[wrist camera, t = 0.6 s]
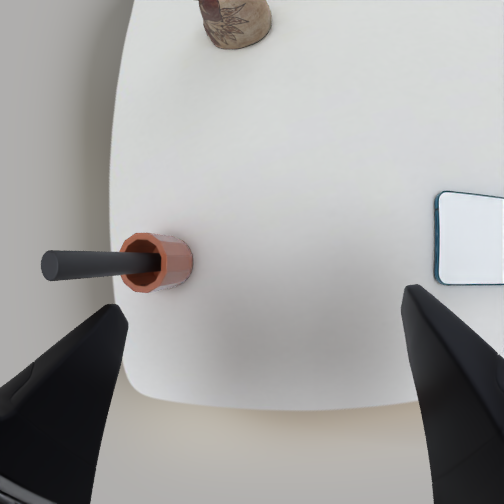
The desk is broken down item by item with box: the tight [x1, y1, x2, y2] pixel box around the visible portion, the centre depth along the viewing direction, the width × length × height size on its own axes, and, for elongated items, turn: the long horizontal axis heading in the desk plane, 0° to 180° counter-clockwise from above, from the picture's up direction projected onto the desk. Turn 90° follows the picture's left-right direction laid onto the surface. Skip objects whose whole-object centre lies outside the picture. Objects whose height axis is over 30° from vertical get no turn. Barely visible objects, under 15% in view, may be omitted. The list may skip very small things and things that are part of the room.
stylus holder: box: [119, 233, 193, 293], centre depth 24 cm, size 4×4×5 cm
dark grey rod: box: [41, 250, 161, 281], centre depth 19 cm, size 2×2×14 cm
